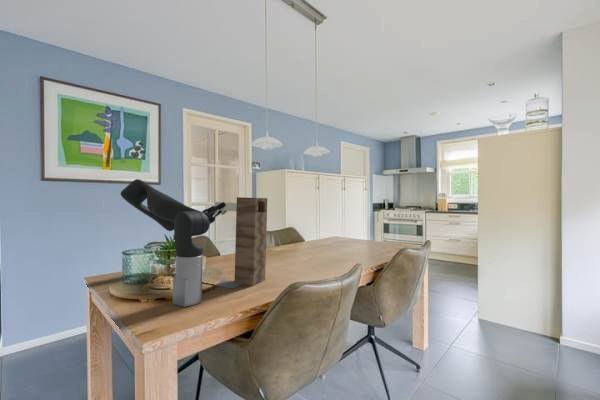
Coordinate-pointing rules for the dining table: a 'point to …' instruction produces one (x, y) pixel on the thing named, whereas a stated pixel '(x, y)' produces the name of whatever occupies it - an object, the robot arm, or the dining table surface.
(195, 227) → the robot arm
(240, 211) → the socket tower
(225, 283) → the mat
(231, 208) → the plug bar
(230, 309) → the dining table surface
